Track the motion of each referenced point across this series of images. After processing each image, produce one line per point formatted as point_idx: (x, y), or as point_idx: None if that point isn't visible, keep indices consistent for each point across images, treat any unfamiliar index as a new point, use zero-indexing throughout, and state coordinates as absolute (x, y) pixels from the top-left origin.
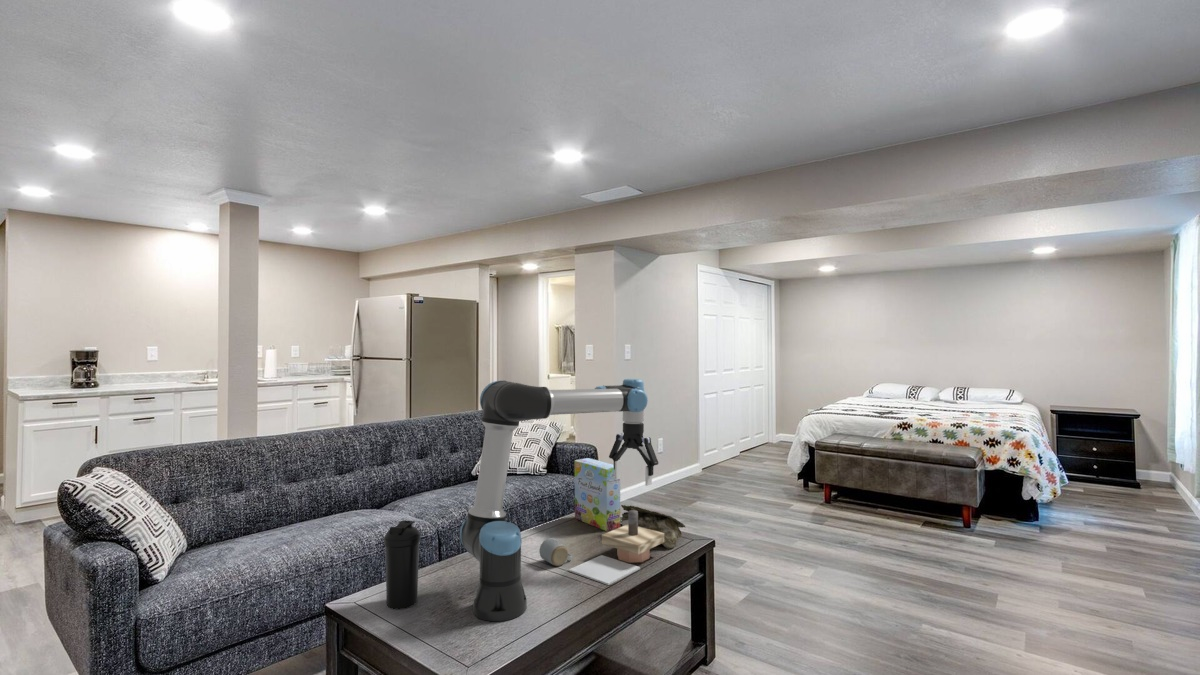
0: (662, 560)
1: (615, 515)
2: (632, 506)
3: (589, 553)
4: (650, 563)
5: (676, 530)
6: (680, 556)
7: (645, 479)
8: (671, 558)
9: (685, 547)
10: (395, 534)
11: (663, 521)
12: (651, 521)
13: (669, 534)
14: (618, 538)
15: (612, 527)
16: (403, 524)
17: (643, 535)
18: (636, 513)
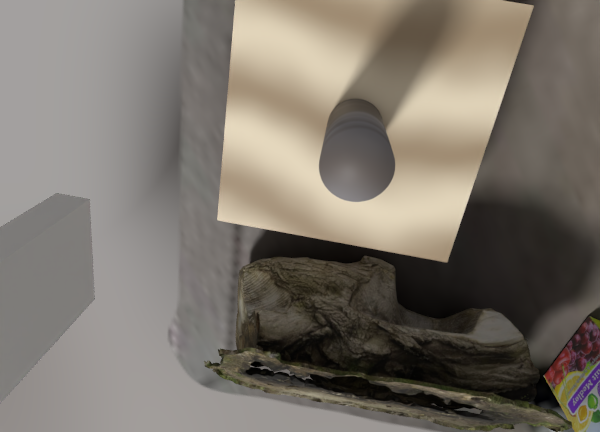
0: (222, 128)
1: (586, 397)
2: (481, 394)
3: (573, 24)
4: None
5: (239, 334)
6: (185, 203)
7: (29, 241)
8: (203, 167)
9: (215, 293)
10: None
11: (274, 330)
12: (344, 328)
13: (251, 291)
14: (400, 3)
15: (572, 347)
16: None
17: (292, 134)
18: (321, 152)
